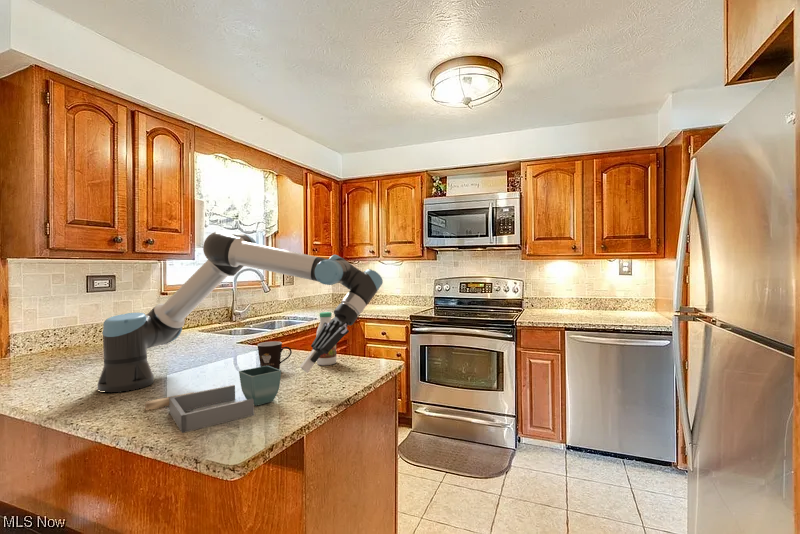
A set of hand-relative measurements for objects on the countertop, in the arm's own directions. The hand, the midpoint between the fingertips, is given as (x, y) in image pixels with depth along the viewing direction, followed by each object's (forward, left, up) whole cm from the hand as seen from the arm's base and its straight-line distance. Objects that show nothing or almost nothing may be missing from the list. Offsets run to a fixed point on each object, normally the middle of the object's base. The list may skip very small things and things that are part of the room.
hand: (303, 369), depth 119 cm
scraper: (-35, +5, -7) cm, 36 cm away
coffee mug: (-8, +30, -7) cm, 32 cm away
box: (-24, -8, -7) cm, 26 cm away
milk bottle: (+12, +34, -7) cm, 37 cm away
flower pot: (-12, -4, -7) cm, 15 cm away
